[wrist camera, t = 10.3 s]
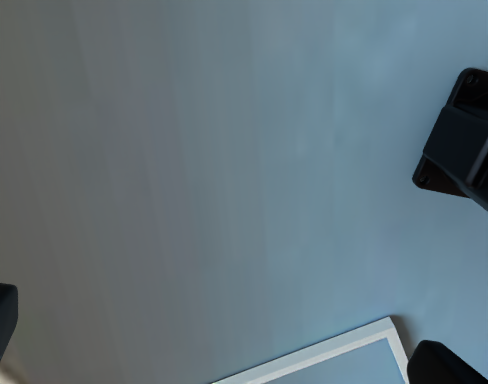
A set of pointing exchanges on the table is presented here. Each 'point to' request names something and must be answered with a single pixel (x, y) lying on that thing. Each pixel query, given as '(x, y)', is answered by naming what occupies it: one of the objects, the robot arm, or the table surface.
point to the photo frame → (325, 354)
